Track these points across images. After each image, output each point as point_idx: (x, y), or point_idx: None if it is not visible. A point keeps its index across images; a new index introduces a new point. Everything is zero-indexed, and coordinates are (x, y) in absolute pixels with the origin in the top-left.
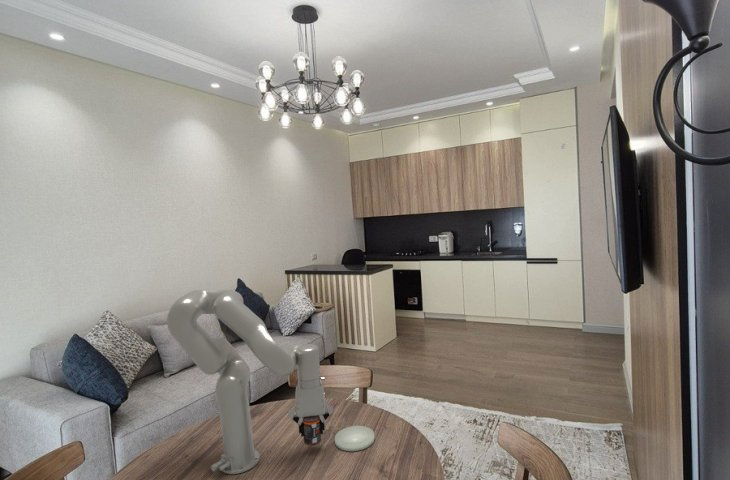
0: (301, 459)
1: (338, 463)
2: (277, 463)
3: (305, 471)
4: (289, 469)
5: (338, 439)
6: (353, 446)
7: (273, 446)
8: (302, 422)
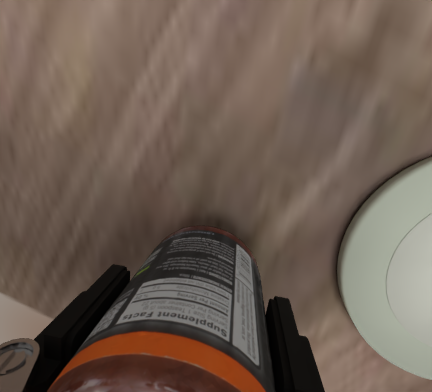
0: None
1: None
2: (52, 262)
3: None
4: None
5: (370, 264)
6: (421, 366)
7: (19, 110)
8: (66, 364)
